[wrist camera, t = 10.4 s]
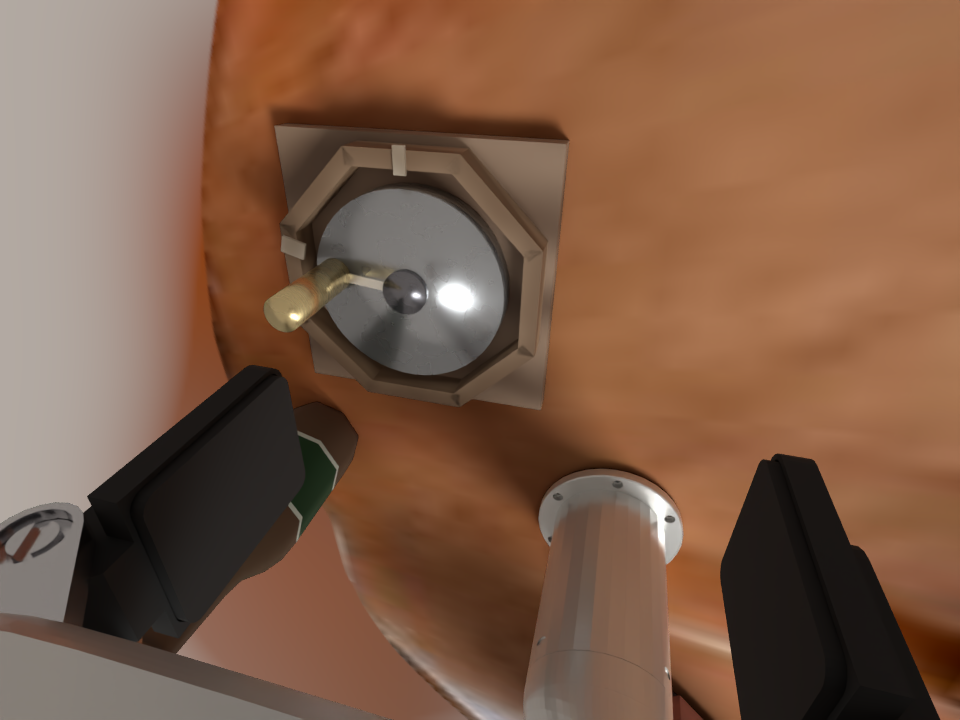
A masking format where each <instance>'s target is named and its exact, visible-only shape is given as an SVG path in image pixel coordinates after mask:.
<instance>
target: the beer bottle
mask: <svg viewBox="0 0 960 720" xmlns="http://www.w3.org/2000/svg"><path fill="white" fill-rule="evenodd" d="M293 412H294V417H295V422H296V427H297V432H298V437H299V442H300V447H301V452H302V457H303V462H304V467H305V480H304V483H303V486H302V487H301V489H300V490H299V492H298V493H297V494H296V496H295V497H294V498H293V500H292V501H291V502H290V503H289V505H288V506H287V507H286V509H285V510H284V511H283V513H282V514H281V515H280V516H279V518H278V519H277V520H276V522H275V523H274V524H273V526H272V527H271V528H270V529H269V531H268V532H267V533H266V535H265V536H264V537H263V539H262V540H261V541H260V543H259V544H258V545H257V546H256V548H255V549H254V550H253V552H252V553H251V554H250V556H249V557H248V558H247V559H246V561H245V562H244V563H243V565H242V566H241V567H240V569H239V570H238V571H237V572H236V574H235V575H234V576H233V578H232V579H231V580H230V582H229V583H228V584H227V586H226V587H225V588H224V589H223V591H222V592H221V593H220V595H219V596H218V597H217V599H216V600H215V601H214V602H213V604H212V605H211V606H210V608H209V609H208V610H207V612H206V613H205V614H204V615H203V616H202V618H201V619H200V620H198V621H197V622H194V623H190V625H189V626H188V627H187V629H186V630H185V631H184V632H183V634H182V635H181V636H180V638H179V639H178V638H175V637H171V636H168V635H164V634H161V633H158V632H154V631H153V628H152V626H151V627H150V628H149V630H148V631H147V632H146V633H145V634H144V636H143V637H142V644H144V645H148V646H151V647H154V648H158V649H161V650H164V651H168V652H171V653H174V654H176V653H177V652H178V651H179V650H180V649H181V647H182V646H183V645H184V644H185V643H186V641H187V640H188V639H189V638H190V637H191V636H192V634H193V633H194V632H195V631H196V629H198V627H199V626H200V625H201V624H202V623H203V621H204V620H205V619H206V618H207V617H208V616H209V614H210V613H211V612H212V611H213V610H214V609H215V607H216V606H217V605H218V604H219V603H220V601H221V600H222V599H223V598H224V597H225V596H226V595H227V594H228V593H229V592H230V591H231V590H232V589H233V588H234V587H235V586H236V585H237V584H238V583H239V582H241V581H242V580H245V579H247V578H250V577H252V576H255V575H257V574H260V573H263V572H265V571H266V570H268V569H269V568H270V567H272V566H274V565H275V564H276V563H278V562H279V561H281V560H282V559H283V558H284V556H285V555H286V554H287V553H288V551H289V550H290V549H291V548H292V547H293V546H294V544H295V543H296V542H297V540H298V539H299V537H300V536H301V534H302V533H303V532H304V530H305V529H306V527H307V526H308V524H309V523H310V522H311V520H312V519H313V517H314V516H315V514H316V513H317V512H318V510H319V509H320V507H321V506H322V504H323V503H324V502H325V500H326V499H327V497H328V496H329V494H330V493H331V491H332V490H333V489H334V487H335V486H336V484H337V483H338V481H339V480H340V479H341V477H342V476H343V474H344V473H345V471H346V470H347V468H348V466H349V465H350V463H351V461H352V460H353V457H354V453H355V449H356V445H357V441H358V435H357V433H356V432H355V430H354V429H353V427H352V426H351V424H350V423H349V421H348V420H347V418H346V417H345V415H344V414H343V413H342V412H339V411H337V410H335V409H332V408H330V407H328V406H326V405H323V404H321V403H319V402H314V403H311V404H308V405H305V406H301V407H298V408H295V409H293Z"/></svg>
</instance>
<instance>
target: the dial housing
mask: <svg viewBox="0 0 960 720" xmlns="http://www.w3.org/2000/svg"><path fill="white" fill-rule="evenodd" d="M275 132H276V138H277V144H278V151H279V157H280V163H281V169H282V175H283V181H284V187H285V193H286V199H287V205H288V211H289V213H288V214H287V215H286V216H285V218H284V219H283V220H282V221H281V223H280V229H281V235H282V241H281V252H284V253H285V258H286V264H287V269H288V275H289V281H290V284H291V283H292V282H294V281H295V280H297V279H298V278H300V277H301V276H303V275H304V274H306V273H307V272H309V271H310V270H312V269H313V268H315V267H316V266H317V255H318V249H319V245H320V241H321V238H322V235H323V233H324V231H325V229H326V227H327V225H328V224H329V222H330V221H331V219H332V218H333V216H334V215H335V214H336V213H337V212H338V211H339V210H340V209H341V208H342V207H343V206H345V205H346V204H347V203H349V202H350V201H352V200H354V199H355V198H357V197H359V196H361V195H363V194H365V193H367V192H369V191H371V190H373V189H375V188H378V187H381V186H384V185H388V184H394V183H417V184H424V185H428V186H431V187H435V188H438V189H440V190H443V191H445V192H447V193H450V194H451V195H453V196H455V197H456V198H458V199H460V200H461V201H463V202H464V203H465V204H467V205H468V206H469V207H471V208H472V209H473V210H474V211H475V212H476V213H477V214H478V215H479V216H480V217H481V218H482V219H483V220H484V222H485V223H486V224H487V225H488V226H489V228H490V229H491V231H492V232H493V234H494V235H495V237H496V239H497V240H498V243H499V245H500V247H501V249H502V251H503V254H504V257H505V260H506V263H507V268H508V274H509V286H510V291H509V301H508V305H507V309H506V313H505V315H504V318H503V320H502V323H501V325H500V327H499V329H498V331H497V332H496V334H495V336H494V338H493V340H492V341H491V343H490V344H489V346H488V347H487V348H486V349H485V351H484V352H483V353H482V354H481V355H479V356H478V357H477V358H476V359H475V360H473V361H472V362H470V363H469V364H467V365H466V366H464V367H461V368H459V369H457V370H454V371H451V372H448V373H443V374H437V375H417V374H410V373H405V372H401V371H398V370H394V369H391V368H389V367H387V366H385V365H382V364H380V363H378V362H377V361H375V360H373V359H371V358H370V357H368V356H367V355H365V354H364V353H363V352H361V351H360V350H359V349H358V348H357V347H355V346H354V345H353V344H352V343H351V342H350V341H349V340H348V339H347V338H346V337H345V336H344V335H343V333H342V332H341V331H340V329H339V328H338V327H337V325H336V324H335V322H334V321H333V319H332V317H331V316H330V314H329V312H328V310H327V308H326V306H325V305H324V306H323V307H322V308H321V309H320V310H318V311H317V312H316V313H315V314H314V315H312V316H311V317H310V318H309V319H307V320H306V321H305V322H304V323H303V324H301V325H300V326H301V327H302V328H303V329H304V330H305V331H306V332H307V333H308V334H309V339H310V345H311V351H312V357H313V363H314V369H315V373H320V374H326V375H332V376H338V377H344V378H350V379H356V380H357V381H358V382H359V383H360V384H361V385H362V386H363V387H364V388H365V389H366V390H367V391H368V392H374V393H379V394H385V395H391V396H397V397H403V398H409V399H414V400H420V401H426V402H432V403H438V404H443V405H449V406H455V407H461V406H462V405H464V404H465V403H467V402H468V401H470V400H471V399H476V400H482V401H488V402H494V403H500V404H506V405H512V406H518V407H524V408H530V409H536V410H541V407H542V404H543V400H544V390H545V380H546V370H547V360H548V350H549V340H550V330H551V320H552V310H553V300H554V290H555V279H556V269H557V259H558V249H559V239H560V229H561V219H562V209H563V199H564V189H565V179H566V169H567V159H568V149H569V140H555V139H539V138H522V137H506V136H489V135H473V134H456V133H440V132H424V131H407V130H391V129H374V128H358V127H342V126H325V125H309V124H292V123H285V124H280V125H276V126H275Z"/></svg>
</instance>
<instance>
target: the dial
mask: <svg viewBox="0 0 960 720" xmlns="http://www.w3.org/2000/svg"><path fill="white" fill-rule="evenodd" d="M509 291H510V286H509V274H508V268H507V263H506V260H505V257H504V254H503V251H502V249H501V247H500V245H499V243H498V240H497V239H496V237H495V235H494V234H493V232H492V231H491V229H490V228H489V226H488V225H487V224H486V223H485V222H484V220H483V219H482V218H481V217H480V216H479V215H478V214H477V213H476V212H475V211H474V210H473V209H472V208H471V207H469V206H468V205H467V204H465V203H464V202H463V201H461V200H460V199H458V198H456V197H455V196H453V195H451V194H450V193H447V192H445V191H443V190H440V189H438V188H435V187H431V186H428V185H424V184H417V183H394V184H388V185H384V186H381V187H378V188H375V189H373V190H371V191H369V192H367V193H365V194H363V195H361V196H359V197H357V198H355V199H354V200H352V201H350V202H349V203H347V204H346V205H345V206H343V207H342V208H341V209H340V210H339V211H338V212H337V213H336V214H335V215H334V216H333V218H332V219H331V221H330V222H329V224H328V225H327V227H326V229H325V231H324V233H323V235H322V238H321V241H320V245H319V249H318V255H317V266H316V267H315V268H313V269H312V270H310V271H309V272H307V273H306V274H304V275H303V276H301V277H300V278H298V279H297V280H295V281H294V282H292V283H291V284H290V285H288V286H287V287H285V288H284V289H282V290H281V291H279V292H278V293H276V294H275V295H273V296H272V297H270V298H269V299H268V300H267V301H266V302H265V304H264V314H265V317H266V319H267V320H268V322H269V323H270V324H271V325H272V326H273V327H274V328H276V329H277V330H279V331H282V332H292V331H294V330H295V329H296V328H298V327H299V326H300V325H301V324H303V323H304V322H305V321H306V320H307V319H309V318H310V317H311V316H312V315H314V314H315V313H316V312H317V311H318V310H320V309H321V308H322V307H323V306H324V305H325V306H326V308H327V310H328V312H329V314H330V316H331V317H332V319H333V321H334V322H335V324H336V325H337V327H338V328H339V329H340V331H341V332H342V333H343V335H344V336H345V337H346V338H347V339H348V340H349V341H350V342H351V343H352V344H353V345H354V346H355V347H357V348H358V349H359V350H360V351H361V352H363V353H364V354H365V355H367V356H368V357H370V358H371V359H373V360H375V361H377V362H378V363H380V364H382V365H385V366H387V367H389V368H391V369H394V370H398V371H401V372H405V373H410V374H417V375H437V374H443V373H448V372H451V371H454V370H457V369H459V368H461V367H464V366H466V365H467V364H469V363H470V362H472V361H473V360H475V359H476V358H477V357H478V356H479V355H481V354H482V353H483V352H484V351H485V349H486V348H487V347H488V346H489V344H490V343H491V341H492V340H493V338H494V336H495V334H496V332H497V331H498V329H499V327H500V325H501V323H502V320H503V318H504V315H505V313H506V309H507V305H508V301H509Z"/></svg>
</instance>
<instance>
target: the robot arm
mask: <svg viewBox="0 0 960 720" xmlns="http://www.w3.org/2000/svg"><path fill="white" fill-rule="evenodd" d="M304 480H305V467H304V462H303V457H302V452H301V447H300V442H299V437H298V432H297V427H296V422H295V417H294V412H293V406H292V401H291V396H290V391H289V386H288V382H287V380H286V379H285V378H284V377H282V375H281V373H280V372H279V370H277V369H273V368H267V367H262V366H256V365H249V366H247V367H246V368H244V369H243V370H242V371H241V372H239V373H238V374H237V375H236V376H234V377H233V378H232V379H231V380H229V381H228V382H227V383H226V384H225V385H223V386H222V387H221V388H220V389H218V390H217V391H216V392H215V393H214V394H212V395H211V396H210V397H209V398H208V399H206V400H205V401H204V402H202V403H201V404H200V405H199V406H198V407H196V408H195V409H194V410H193V411H191V412H190V413H189V414H188V415H186V416H185V417H184V418H183V419H182V420H180V421H179V422H178V423H177V424H176V425H174V426H173V427H172V428H171V429H169V430H168V431H167V432H166V433H164V434H163V435H162V436H161V437H159V438H158V439H157V440H156V441H155V442H153V443H152V444H151V445H150V446H148V447H147V448H146V449H145V450H144V451H142V452H141V453H140V454H139V455H137V456H136V457H135V458H134V459H133V460H131V461H130V462H129V463H128V464H126V465H125V466H124V467H123V468H122V469H120V470H119V471H118V472H116V473H115V474H114V475H113V476H112V477H110V478H109V479H108V480H107V481H105V482H104V483H103V484H102V485H101V486H99V487H98V488H97V489H96V490H94V491H93V492H92V493H91V494H89V495H88V496H87V497H88V499H89V501H90V503H91V505H92V506H91V507H90V508H89V509H88V510H86V511H85V512H84V513H83V512H82V511H81V510H80V508H79V507H78V506H75V505H73V504H70V503H56V502H55V503H49V504H44V505H39V506H36V507H33V508H30V509H27V510H24V511H22V512H20V513H18V514H16V515H14V516H12V517H10V518H8V519H7V520H5V521H4V522H2V523H1V524H0V720H392V719H388V718H385V717H382V716H379V715H376V714H372V713H369V712H365V711H363V710H359V709H356V708H353V707H349V706H346V705H343V704H340V703H336V702H333V701H330V700H326V699H323V698H320V697H317V696H313V695H310V694H307V693H303V692H300V691H297V690H293V689H290V688H287V687H284V686H281V685H277V684H274V683H271V682H268V681H264V680H261V679H258V678H254V677H251V676H247V675H244V674H241V673H238V672H234V671H231V670H227V669H224V668H221V667H217V666H214V665H211V664H208V663H204V662H201V661H198V660H194V659H191V658H188V657H184V656H181V655H178V654H174V653H171V652H168V651H164V650H161V649H158V648H154V647H151V646H148V645H144V644H142V637H143V636H144V634H145V633H146V632H147V631H148V630H149V628H150V627H151V626H152V628H153V631H154V632H158V633H161V634H164V635H168V636H171V637H175V638H178V639H179V638H180V636H181V635H182V634H183V632H184V631H185V630H186V629H187V627H188V626H189V625H190V623H194V622H197V621H198V620H200V619H201V618H202V616H203V615H204V614H205V613H206V612H207V610H208V609H209V608H210V606H211V605H212V604H213V602H214V601H215V600H216V599H217V597H218V596H219V595H220V593H221V592H222V591H223V589H224V588H225V587H226V586H227V584H228V583H229V582H230V580H231V579H232V578H233V576H234V575H235V574H236V572H237V571H238V570H239V569H240V567H241V566H242V565H243V563H244V562H245V561H246V559H247V558H248V557H249V556H250V554H251V553H252V552H253V550H254V549H255V548H256V546H257V545H258V544H259V543H260V541H261V540H262V539H263V537H264V536H265V535H266V533H267V532H268V531H269V529H270V528H271V527H272V526H273V524H274V523H275V522H276V520H277V519H278V518H279V516H280V515H281V514H282V513H283V511H284V510H285V509H286V507H287V506H288V505H289V503H290V502H291V501H292V500H293V498H294V497H295V496H296V494H297V493H298V492H299V490H300V489H301V487H302V486H303V483H304ZM538 520H539V526H540V530H541V533H542V535H543V538H544V539H545V541H546V542H547V544H548V545H549V547H550V551H549V556H548V562H547V567H546V573H545V578H544V584H543V589H542V595H541V600H540V606H539V611H538V617H537V622H536V628H535V634H534V639H533V645H532V650H531V656H530V661H529V667H528V672H527V678H526V684H525V690H524V700H523V709H524V719H525V720H673V703H672V682H671V662H670V641H669V620H668V599H667V579H666V564H668V563H669V562H670V561H671V560H672V559H673V558H674V557H675V556H676V554H677V553H678V551H679V549H680V547H681V545H682V540H683V523H682V519H681V515H680V512H679V510H678V508H677V506H676V505H675V503H674V501H673V500H672V499H671V498H670V497H669V496H668V495H667V493H665V492H664V491H663V490H662V489H660V488H659V487H658V486H657V485H655V484H653V483H652V482H650V481H648V480H646V479H645V478H642V477H640V476H637V475H634V474H632V473H628V472H624V471H619V470H612V469H589V470H583V471H579V472H575V473H572V474H570V475H567V476H565V477H563V478H561V479H560V480H558V481H557V482H555V483H554V484H553V485H552V486H551V487H550V488H549V489H548V490H547V492H546V493H545V495H544V497H543V499H542V502H541V506H540V510H539V518H538ZM720 578H721V586H722V593H723V600H724V607H725V613H726V620H727V627H728V633H729V640H730V647H731V653H732V660H733V667H734V674H735V680H736V687H737V694H738V700H739V707H740V714H741V720H940V718H939V716H938V714H937V711H936V709H935V707H934V705H933V702H932V700H931V698H930V696H929V693H928V691H927V689H926V687H925V684H924V682H923V680H922V678H921V675H920V673H919V671H918V669H917V666H916V664H915V662H914V660H913V657H912V655H911V653H910V651H909V648H908V646H907V644H906V642H905V639H904V637H903V635H902V633H901V630H900V628H899V626H898V624H897V621H896V619H895V617H894V615H893V612H892V610H891V608H890V606H889V603H888V601H887V599H886V597H885V594H884V592H883V590H882V588H881V585H880V583H879V581H878V579H877V576H876V574H875V572H874V570H873V567H872V565H871V563H870V561H869V559H868V557H867V555H866V554H865V552H864V551H863V550H862V549H861V548H859V547H858V546H854V545H850V543H849V540H848V538H847V535H846V533H845V531H844V528H843V526H842V524H841V521H840V519H839V516H838V514H837V512H836V509H835V507H834V505H833V502H832V500H831V497H830V495H829V493H828V490H827V488H826V485H825V483H824V481H823V478H822V476H821V474H820V471H819V469H818V466H817V464H816V463H815V461H814V460H812V459H807V458H801V457H795V456H789V455H784V454H775V455H774V456H773V457H772V459H771V461H770V460H761V462H760V463H759V465H758V468H757V470H756V473H755V476H754V478H753V481H752V483H751V486H750V489H749V491H748V494H747V496H746V499H745V502H744V504H743V507H742V510H741V512H740V515H739V517H738V520H737V523H736V525H735V528H734V530H733V533H732V536H731V538H730V541H729V543H728V546H727V549H726V551H725V554H724V557H723V559H722V563H721V571H720Z"/></svg>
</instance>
